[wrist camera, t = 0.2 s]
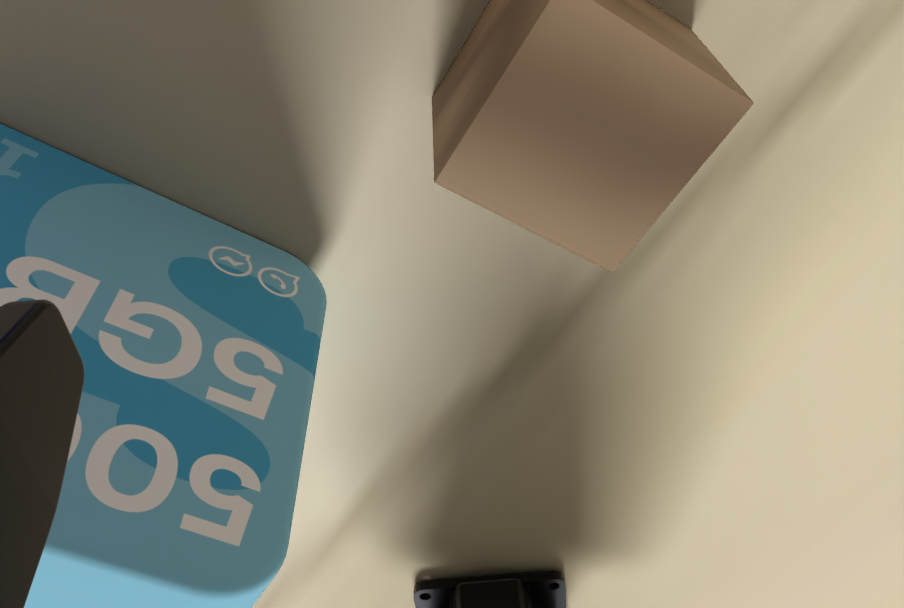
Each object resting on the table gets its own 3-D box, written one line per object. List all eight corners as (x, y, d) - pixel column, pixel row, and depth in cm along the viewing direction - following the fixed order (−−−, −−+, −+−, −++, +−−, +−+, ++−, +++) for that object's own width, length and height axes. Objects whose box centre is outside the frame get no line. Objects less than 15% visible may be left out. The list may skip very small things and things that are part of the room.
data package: (334, 269, 25) (281, 613, 16) (276, 365, 28) (198, 719, 18) (-76, 84, 21) (-484, 389, 12) (-105, 213, 24) (-468, 560, 14)
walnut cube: (579, 177, 24) (612, 272, 20) (431, 96, 22) (434, 182, 18) (690, 28, 21) (753, 103, 17) (533, -75, 20) (562, -20, 16)
